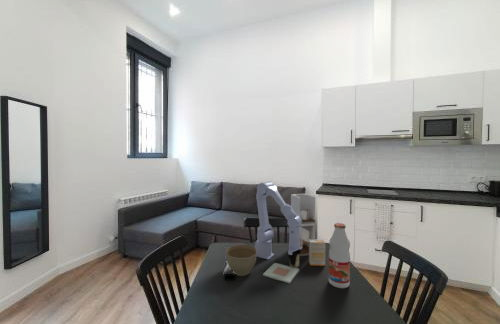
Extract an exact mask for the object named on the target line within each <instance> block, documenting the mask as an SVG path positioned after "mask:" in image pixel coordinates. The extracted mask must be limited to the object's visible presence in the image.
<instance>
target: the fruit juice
mask: <svg viewBox="0 0 500 324" xmlns="http://www.w3.org/2000/svg"><path fill="white" fill-rule="evenodd" d="M333 226H334V230H333V233H332V235H331V237H330V238H329V251H328V282H329V285H331V286H333V287H335V288H337V289H346V288H348V287H350V284H351V283H350V282H351V280H350V279H351V252H350V248H351V241H350V240H349V238H348V235H347V233H346V228H347V227H346V224H345V223H341V222H336V223H334V225H333Z"/></svg>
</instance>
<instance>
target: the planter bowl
mask: <svg viewBox="0 0 500 324" xmlns="http://www.w3.org/2000/svg"><path fill="white" fill-rule="evenodd" d="M256 256H257V250H256V249H255V246H251V245H248V244H236V245H232V246H229V247H228V248H227V249H226V250H225V257H226V262H227V264H228V267H229V268H230V270H231V269H232V270H233V271H234V272H235V273H236V274H237V275H236V276H239V277H244V276H247V275H249V274H250V273H251V271H252V269H253V268H254V266H255V264H256V262H257V261H256V260H257V257H256ZM232 270H231V271H232Z"/></svg>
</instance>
